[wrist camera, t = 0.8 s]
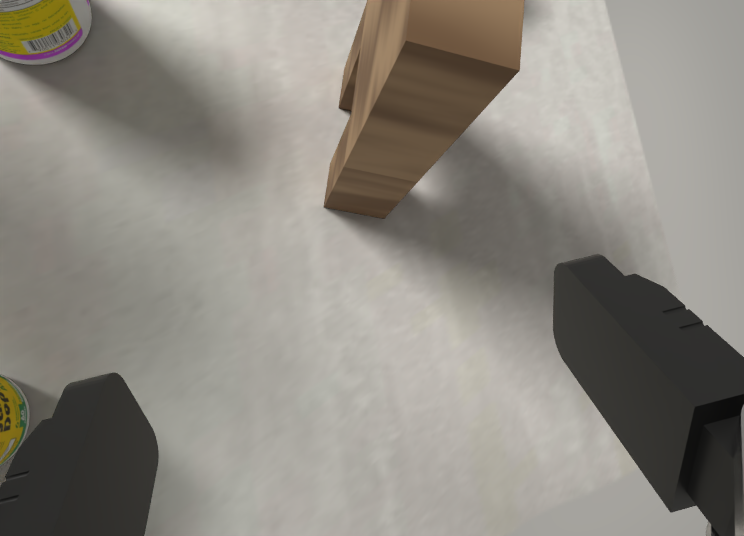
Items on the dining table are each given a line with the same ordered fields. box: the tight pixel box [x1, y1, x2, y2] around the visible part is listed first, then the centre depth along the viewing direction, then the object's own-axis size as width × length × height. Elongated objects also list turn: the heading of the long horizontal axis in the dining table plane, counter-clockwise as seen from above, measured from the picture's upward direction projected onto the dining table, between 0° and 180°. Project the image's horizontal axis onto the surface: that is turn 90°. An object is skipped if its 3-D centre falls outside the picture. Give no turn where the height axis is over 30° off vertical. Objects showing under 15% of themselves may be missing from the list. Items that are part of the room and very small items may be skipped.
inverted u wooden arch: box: [324, 0, 524, 219], centre depth 27 cm, size 10×4×18 cm, turn 173°
